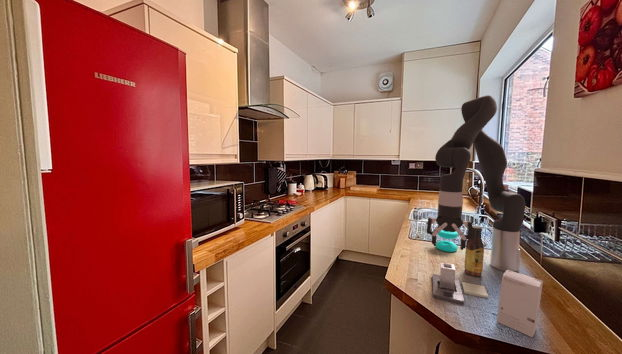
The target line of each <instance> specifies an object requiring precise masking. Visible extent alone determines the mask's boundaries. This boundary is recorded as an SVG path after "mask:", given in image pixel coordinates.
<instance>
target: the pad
mask: <svg viewBox="0 0 622 354" xmlns="http://www.w3.org/2000/svg"><path fill="white" fill-rule="evenodd" d="M461 286H462V287H461V288H462V290H463V291H462V292H463V293H464V294H465V295H469V296H475V297H479V298H484V299H489V295H488V293H487V290H486V288H485V286H484V285H480V284H474V283H469V282H464V281H461Z"/></svg>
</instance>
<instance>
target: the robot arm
mask: <svg viewBox="0 0 622 354" xmlns="http://www.w3.org/2000/svg"><path fill="white" fill-rule="evenodd" d="M497 109H498V104H497V101H496V99H495V97H493V96H492V95H489V94H488V95H483V96H479V97H476V98H474V99H471V100H468V101H466V102H463V104H462V105H461V109H460V112H461V115H462V119H463V122H464V123H463V124H461V126H459V127H458V128H457V129H456V131H455V132H454V133H453V135H452V137H451V138H450V139H449V140H448V141H447V142H445V143H444V144H442V145H441V147H440V148H439V149H438V150H437V151H436V153H435V157H434V159H435V163H436V165H437V166H439V167H440V168H451V169H452V168H455V169H454V171H453V172H452V173H446V174H442V175H441V176H440V179H439V192H438V198H437V199H438V200H437V203H438V205H437V216H436V217H432V216H428V217H427V224H426V234H427V235H430V236H431V244H432V245H433V247H436V243H437V236H438V235H437V234H438V233H439V232H440V231H441V230H443V231H450V232H457V233H458V236H460V243H459V244H460V246H459V248H460V249H459V250H460V251H464V249H465V250H466V242H467V240H468V239H472V238H473V236H472V226H473V222H472V221H471V220H464V221H463V217H462V216H463V204H464V197H463V190H464V189H463V185H464V179H465V175H466V172H467V169H468V167H469V165H470V162H471V157H472V154H471V152H470V149H471V148H472V146H474V147H473V148H474V150H475V153H476V157H477V159H478V163H479V166H480V169H481V171H482V176H483V179H484V182H485V186H486V190H487V197H488V202H489V205H490V207H491V209H493V210H494V211H496V212H500V213H502V216H501V217H502V218H501V219H496V220H493V222H492V234H491V235H492V236H491V247H490V248H491V251H490V266H491V267H493V268H494V269H497V270H500V271H504V272H505V271H506V270H510V271H513V272H516V273H519V272H520V265H521V255H522V254H521V253H522V252H521V251H522V250H521V249H520V240H521V239H520V238H521V237H520V236H521V227H522V226H523V224H524V218H525V212H526V201H525V197H524V196H523V195H521V194H520V193H516V192H512V191H511V192H510V191H507V190H506V188H505V185H504V181H503V178H504V174H505V171H506V169H507V166H508V161H507V156H506V154H505V150H504V147H503V145H501V143H499V142H498V141H497V140H496V139H494V138H493V137H492V136H490V135H489V134H487V133H486V131H484V130H483V129H484V128H485V127H486V125H488V123H489V122H490V121H491V120H492V119H493V118H494V117H495V115H496V113H497V111H498V110H497ZM435 222H436V224H437V226H436V227H435V228H434V230H432V225H433V224H434V223H435ZM463 225H464V227H465V228H466V230H467V231H466V234H464V233H463V231H462V229H461V227H462V226H463Z"/></svg>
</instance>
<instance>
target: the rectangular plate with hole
mask: <svg viewBox="0 0 622 354" xmlns="http://www.w3.org/2000/svg"><path fill="white" fill-rule="evenodd" d="M431 275H432V277H431V278H432V291H433V299H437V300H442V301H446V302H450V303H454V304H455V303H456V304H460V305H465V299H464V296H463V291H462V287H461V282H460V279H459V278H457V277H455V291H454V292H453V291H448V290H444V289H440V287H439V283H440V274H436V273H432V274H431Z"/></svg>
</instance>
